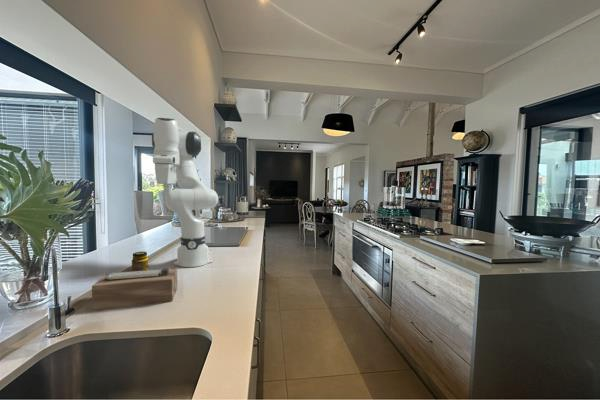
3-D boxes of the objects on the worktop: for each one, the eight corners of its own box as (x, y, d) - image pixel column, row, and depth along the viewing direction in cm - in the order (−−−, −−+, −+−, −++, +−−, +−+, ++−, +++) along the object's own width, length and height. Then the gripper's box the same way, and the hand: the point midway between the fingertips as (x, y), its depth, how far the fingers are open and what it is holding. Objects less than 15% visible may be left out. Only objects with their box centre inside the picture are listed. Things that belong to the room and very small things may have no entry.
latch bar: (109, 276, 96) (109, 272, 96) (161, 272, 100) (160, 268, 100) (104, 280, 91) (104, 276, 91) (158, 276, 96) (158, 272, 96)
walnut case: (107, 294, 99) (106, 268, 99) (177, 288, 106) (176, 263, 105) (92, 309, 88) (91, 280, 87) (172, 301, 95) (171, 273, 94)
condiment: (153, 277, 118) (152, 250, 117) (140, 284, 109) (140, 256, 108) (137, 277, 118) (136, 250, 117) (123, 284, 110) (122, 255, 109)
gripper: (163, 161, 112) (164, 194, 113) (151, 157, 92) (152, 197, 93) (179, 162, 114) (180, 194, 115) (171, 158, 94) (172, 197, 95)
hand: (167, 195), depth 104 cm, fingers closed
